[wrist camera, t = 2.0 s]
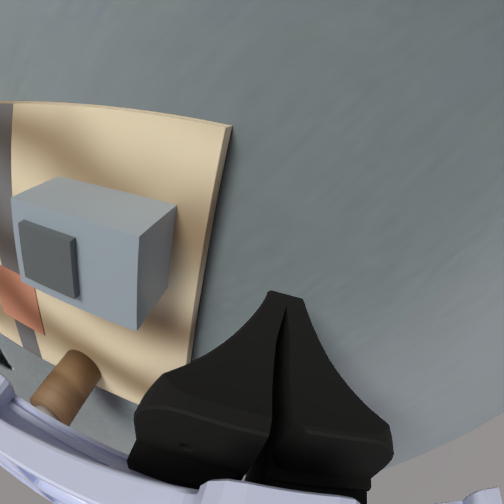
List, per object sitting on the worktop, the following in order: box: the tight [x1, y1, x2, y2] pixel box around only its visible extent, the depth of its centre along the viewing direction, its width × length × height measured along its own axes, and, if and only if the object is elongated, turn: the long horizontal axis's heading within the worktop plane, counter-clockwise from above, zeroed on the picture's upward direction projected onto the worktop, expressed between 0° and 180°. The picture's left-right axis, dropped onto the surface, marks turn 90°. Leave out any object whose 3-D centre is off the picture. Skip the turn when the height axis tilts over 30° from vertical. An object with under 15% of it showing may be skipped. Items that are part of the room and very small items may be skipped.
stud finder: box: [11, 176, 177, 332], centre depth 13 cm, size 4×7×4 cm, turn 77°
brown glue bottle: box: [30, 350, 101, 426], centre depth 18 cm, size 3×3×7 cm
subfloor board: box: [0, 101, 232, 404], centre depth 18 cm, size 20×20×1 cm
